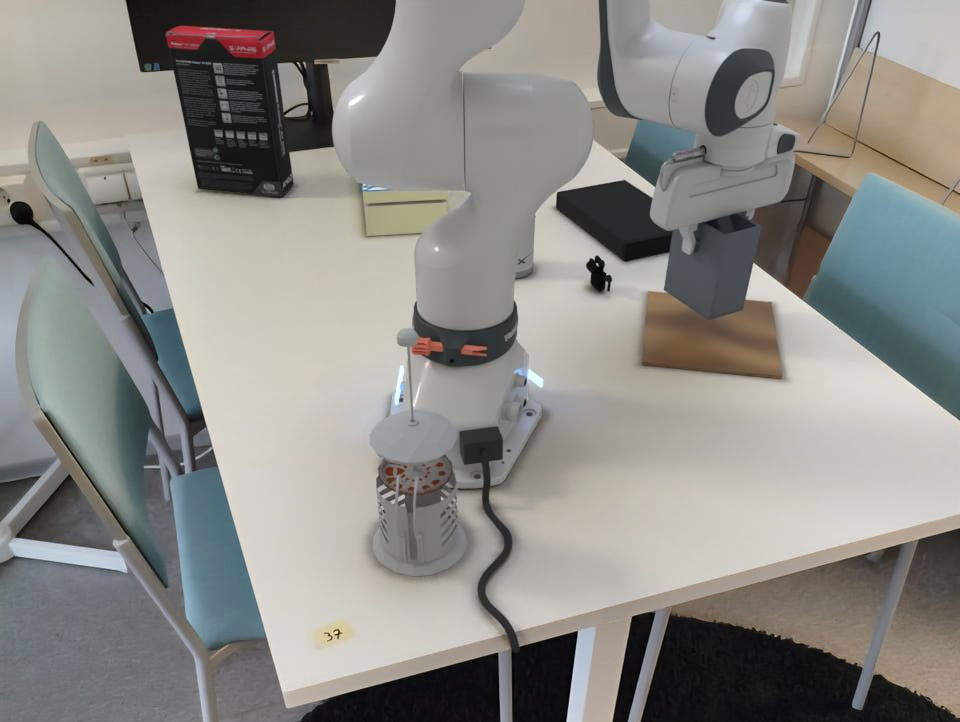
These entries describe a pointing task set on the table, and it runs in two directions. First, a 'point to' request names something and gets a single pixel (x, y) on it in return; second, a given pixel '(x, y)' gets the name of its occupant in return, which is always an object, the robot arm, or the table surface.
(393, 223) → the cream box
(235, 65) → the graphics card box
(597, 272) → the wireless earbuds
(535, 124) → the robot arm
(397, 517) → the french press
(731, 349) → the cork pad
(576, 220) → the external hard drive
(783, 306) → the table surface
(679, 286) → the grey basket
